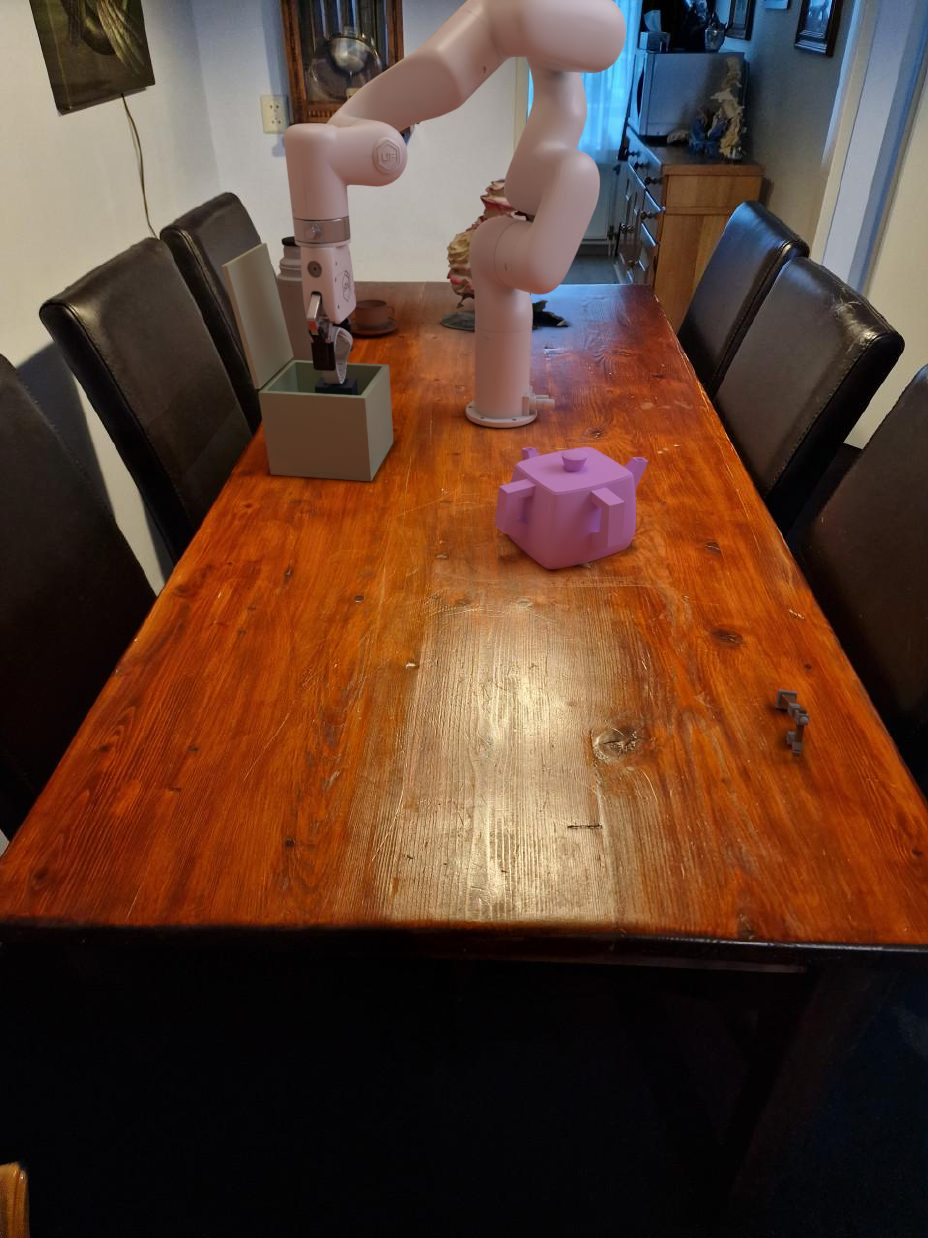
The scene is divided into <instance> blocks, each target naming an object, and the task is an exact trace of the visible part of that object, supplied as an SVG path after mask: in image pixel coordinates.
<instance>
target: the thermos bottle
mask: <svg viewBox="0 0 928 1238" xmlns="http://www.w3.org/2000/svg"><path fill="white" fill-rule="evenodd" d="M281 245H282V246H283V247H282V248H283V249H282V250H283V251H282V253H283V257H282V258H280V259H279V262H278V263H279V264H278V269H279V270H280V271H279V273H278V274H277V275H276V280H277V281H276V283H277V289H278V294H279V298H280V302H281V306H282V310H283V314H284V319H285V323H286V327H287V331H288V335H289V340H290V344H291V348H292V352H293V357H292V358H291V359H290V360H289V361H288V362H287V364H288V363H289V362H290V361H291V360H304V361H313V358H312V349H311V342H310V334H309V331H308V329H309V327H308V324H307V321H306V314H305V308H304V300H303V289H302V274H301V246H298V245H296V244H295V236H294V235H293V236H286V237H283V238H281ZM319 319H328V317H319ZM320 326H322V325H320ZM322 327H323V328H326V326H322Z"/></svg>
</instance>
